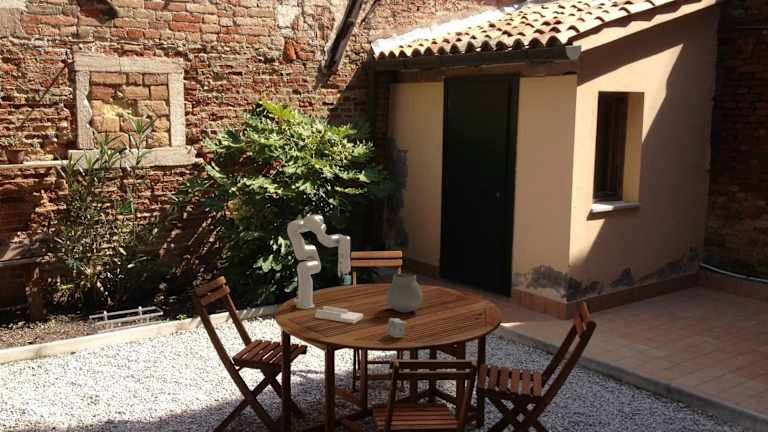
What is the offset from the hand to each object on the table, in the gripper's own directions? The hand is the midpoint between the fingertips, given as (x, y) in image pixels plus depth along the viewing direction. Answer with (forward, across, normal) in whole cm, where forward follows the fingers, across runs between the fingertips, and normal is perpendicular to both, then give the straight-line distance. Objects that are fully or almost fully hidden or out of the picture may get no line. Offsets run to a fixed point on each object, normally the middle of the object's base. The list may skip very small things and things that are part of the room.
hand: (343, 282), depth 459 cm
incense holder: (+24, -20, -46) cm, 55 cm away
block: (+1, 0, -2) cm, 2 cm away
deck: (+23, -2, +2) cm, 23 cm away
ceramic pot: (+24, +32, -30) cm, 50 cm away
